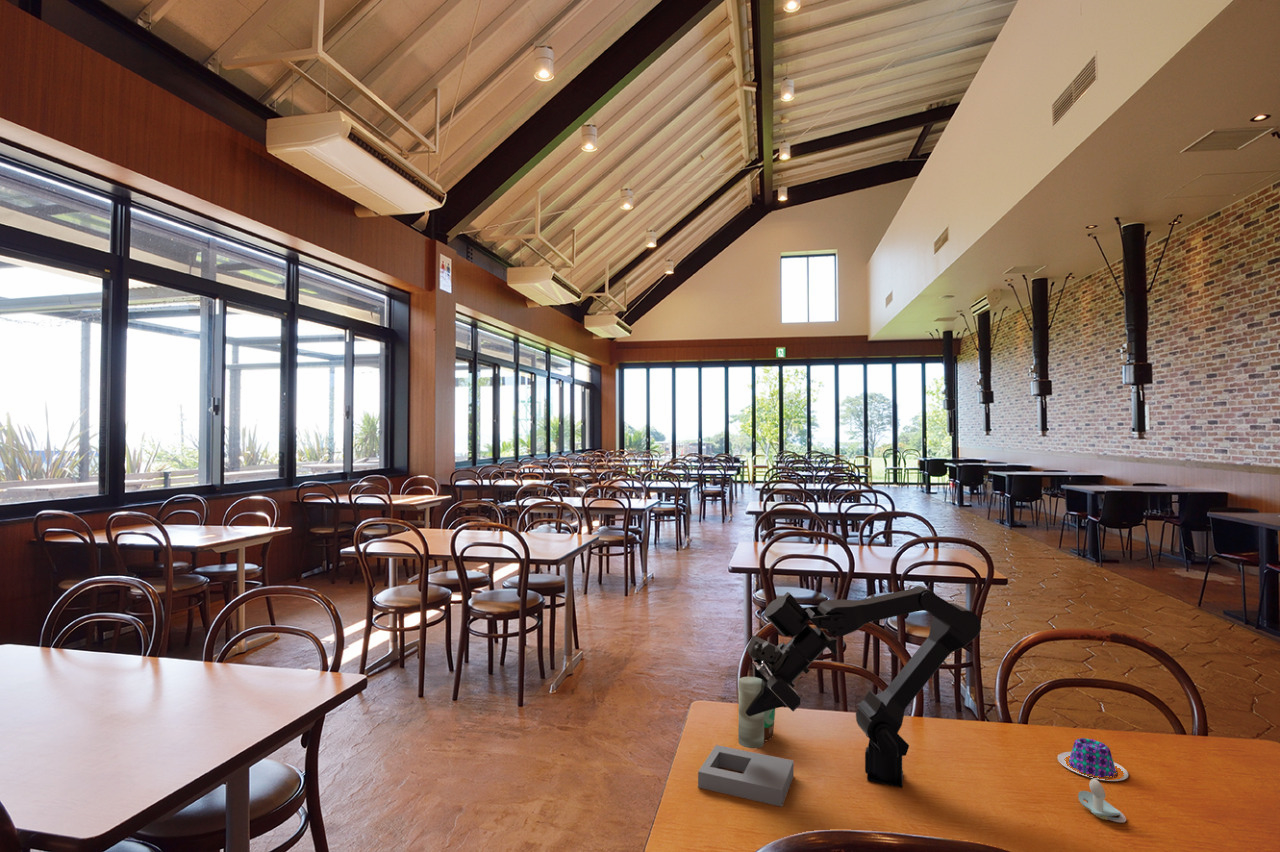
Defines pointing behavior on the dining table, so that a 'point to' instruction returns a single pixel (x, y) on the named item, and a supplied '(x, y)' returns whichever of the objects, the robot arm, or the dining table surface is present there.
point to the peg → (750, 725)
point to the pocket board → (747, 775)
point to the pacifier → (1099, 803)
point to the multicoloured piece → (1091, 759)
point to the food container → (769, 724)
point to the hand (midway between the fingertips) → (744, 708)
